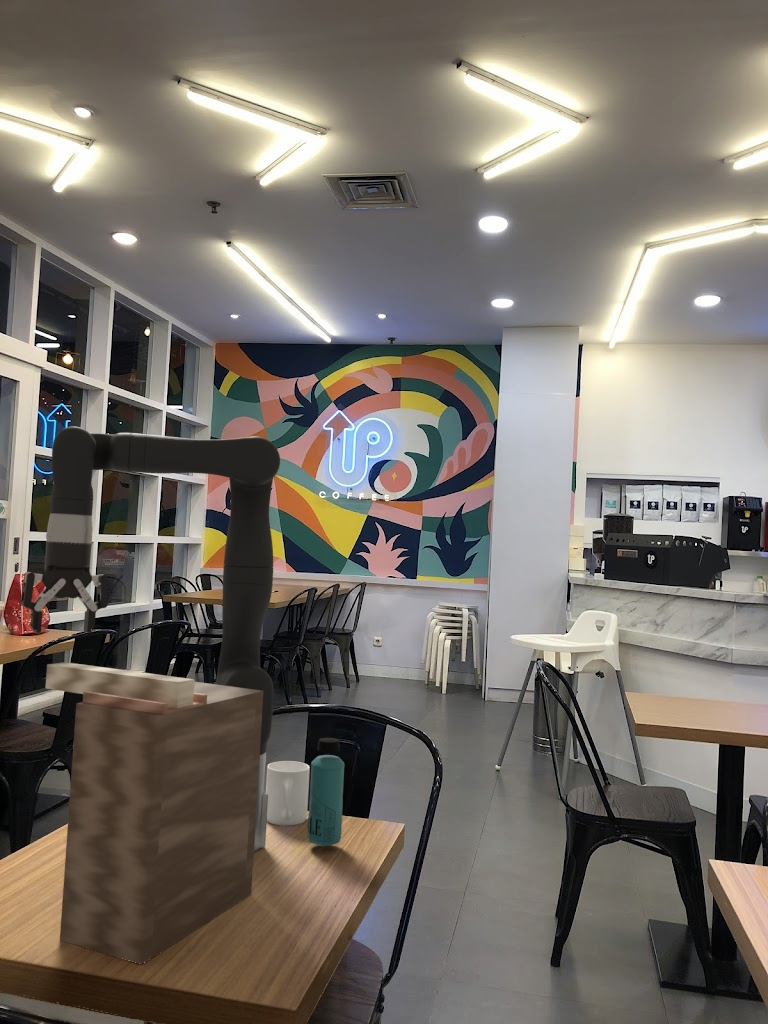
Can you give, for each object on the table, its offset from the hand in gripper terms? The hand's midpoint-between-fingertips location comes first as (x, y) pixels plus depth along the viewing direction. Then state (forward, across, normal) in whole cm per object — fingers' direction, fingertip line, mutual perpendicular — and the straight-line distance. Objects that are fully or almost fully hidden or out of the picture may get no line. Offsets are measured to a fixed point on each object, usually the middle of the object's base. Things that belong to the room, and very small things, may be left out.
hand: (62, 632), depth 147 cm
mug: (+38, +45, -4) cm, 59 cm away
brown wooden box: (+38, +8, -33) cm, 51 cm away
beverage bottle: (+38, +44, -20) cm, 62 cm away
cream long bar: (+6, -1, -32) cm, 33 cm away
